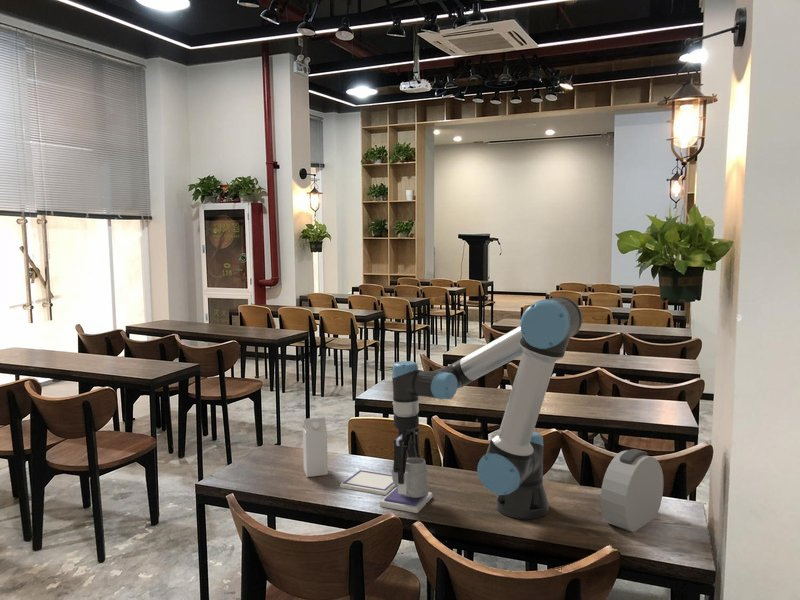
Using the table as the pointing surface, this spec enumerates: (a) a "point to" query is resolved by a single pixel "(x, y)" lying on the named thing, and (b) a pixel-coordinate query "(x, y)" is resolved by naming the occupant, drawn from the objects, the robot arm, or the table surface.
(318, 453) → the milk carton
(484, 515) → the table surface
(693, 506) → the table surface
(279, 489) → the table surface
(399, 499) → the ink pad
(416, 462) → the mug
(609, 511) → the alarm clock
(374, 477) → the board
